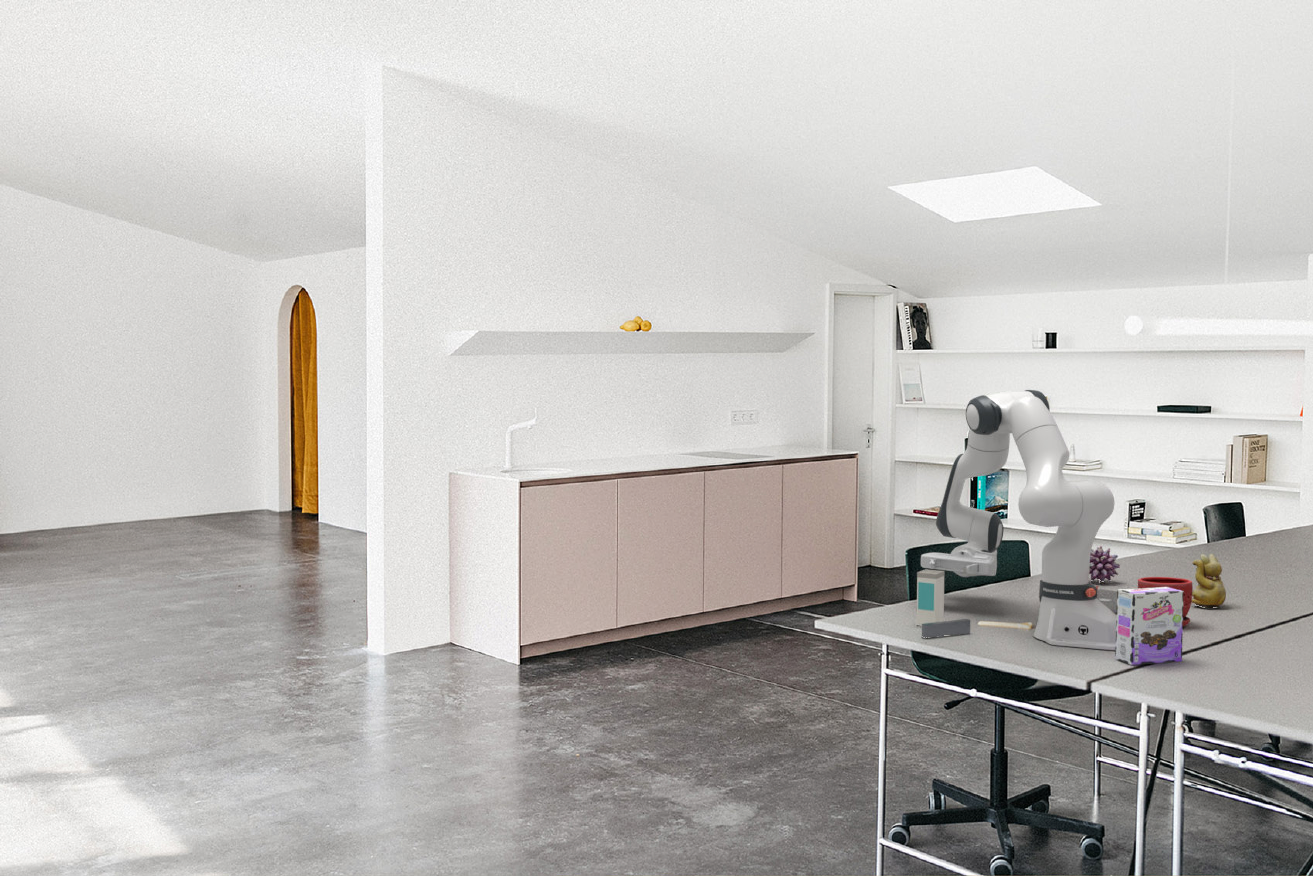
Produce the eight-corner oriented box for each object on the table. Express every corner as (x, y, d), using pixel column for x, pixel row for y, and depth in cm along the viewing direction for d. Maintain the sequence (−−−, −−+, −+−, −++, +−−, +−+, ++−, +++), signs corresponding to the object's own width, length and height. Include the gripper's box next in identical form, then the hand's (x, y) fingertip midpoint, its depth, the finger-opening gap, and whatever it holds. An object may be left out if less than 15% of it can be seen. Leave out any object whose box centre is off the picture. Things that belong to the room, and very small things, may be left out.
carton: (943, 624, 298) (944, 571, 298) (935, 628, 293) (935, 574, 293) (925, 621, 301) (925, 569, 301) (916, 625, 296) (916, 572, 296)
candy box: (1131, 665, 255) (1132, 592, 254) (1114, 659, 261) (1115, 588, 260) (1183, 662, 259) (1184, 590, 258) (1165, 655, 264) (1166, 585, 263)
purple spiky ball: (1079, 585, 356) (1080, 547, 356) (1081, 579, 367) (1081, 542, 367) (1119, 588, 352) (1120, 549, 351) (1119, 581, 363) (1120, 544, 362)
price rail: (921, 637, 283) (921, 623, 282) (965, 632, 289) (965, 618, 288) (925, 639, 281) (925, 625, 281) (970, 633, 287) (970, 619, 287)
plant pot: (1195, 623, 300) (1196, 578, 300) (1186, 632, 289) (1187, 585, 289) (1142, 617, 308) (1143, 573, 307) (1132, 626, 297) (1133, 580, 296)
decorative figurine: (1204, 603, 328) (1205, 551, 327) (1233, 607, 321) (1234, 554, 320) (1186, 607, 322) (1187, 554, 321) (1215, 611, 315) (1216, 557, 315)
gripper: (930, 545, 325) (912, 552, 314) (1002, 553, 314) (985, 560, 302) (930, 567, 326) (911, 574, 314) (1001, 575, 314) (984, 583, 303)
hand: (948, 567), depth 308 cm, fingers open, 8 cm apart
